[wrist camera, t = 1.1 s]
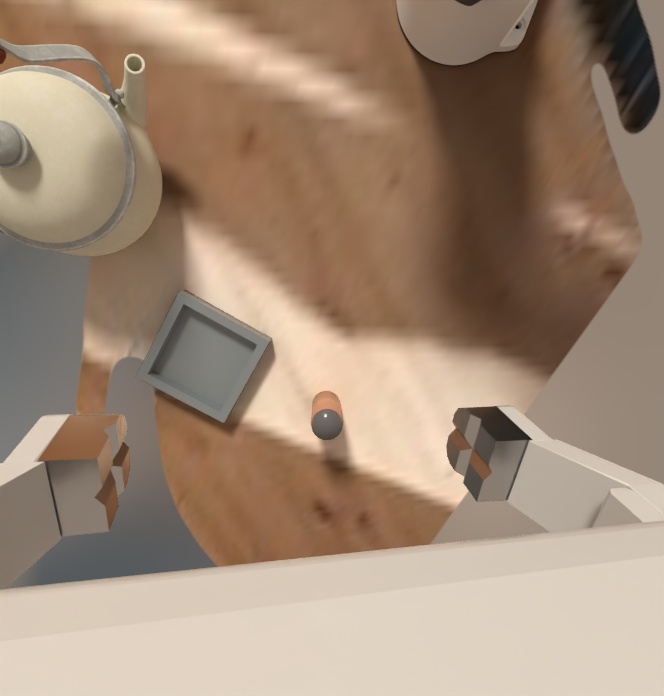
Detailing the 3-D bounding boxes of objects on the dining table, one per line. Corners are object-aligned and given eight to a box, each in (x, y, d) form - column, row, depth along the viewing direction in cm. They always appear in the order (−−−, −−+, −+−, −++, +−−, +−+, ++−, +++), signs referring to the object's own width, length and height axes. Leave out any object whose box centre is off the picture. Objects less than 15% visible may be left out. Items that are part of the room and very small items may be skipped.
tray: (185, 290, 54) (179, 291, 51) (271, 338, 55) (269, 341, 53) (143, 372, 56) (135, 377, 53) (228, 416, 57) (223, 423, 55)
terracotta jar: (321, 386, 57) (321, 404, 49) (345, 399, 57) (349, 419, 49) (307, 409, 57) (305, 431, 49) (331, 422, 58) (332, 446, 50)
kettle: (102, 295, 53) (-83, 315, 29) (-8, 190, 51) (-316, 113, 26) (233, 161, 51) (150, 59, 26) (124, 42, 48) (-82, -198, 23)
